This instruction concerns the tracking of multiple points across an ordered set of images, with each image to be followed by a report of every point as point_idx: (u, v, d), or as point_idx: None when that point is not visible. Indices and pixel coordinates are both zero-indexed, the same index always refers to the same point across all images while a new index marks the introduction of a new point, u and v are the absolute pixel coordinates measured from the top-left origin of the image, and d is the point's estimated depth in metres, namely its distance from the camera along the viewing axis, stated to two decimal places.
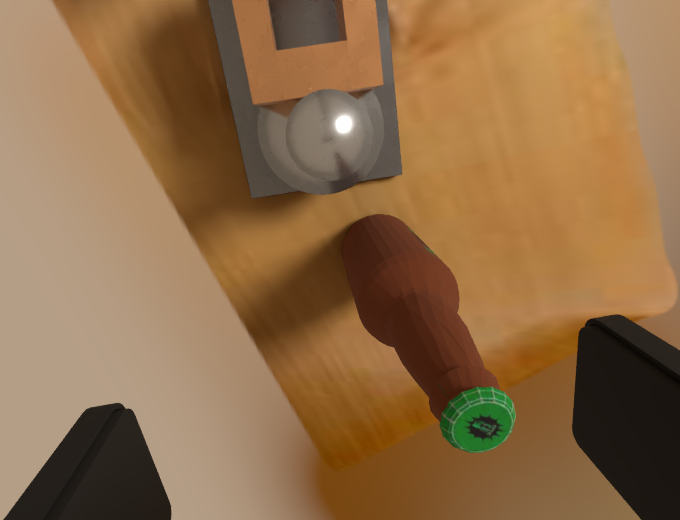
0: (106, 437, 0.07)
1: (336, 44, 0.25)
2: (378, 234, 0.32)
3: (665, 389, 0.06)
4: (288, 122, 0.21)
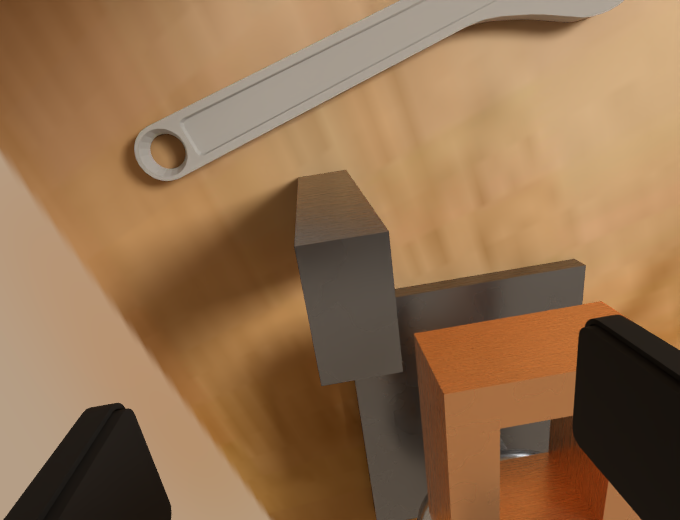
0: (106, 437, 0.07)
1: None
2: None
3: (665, 389, 0.06)
4: None
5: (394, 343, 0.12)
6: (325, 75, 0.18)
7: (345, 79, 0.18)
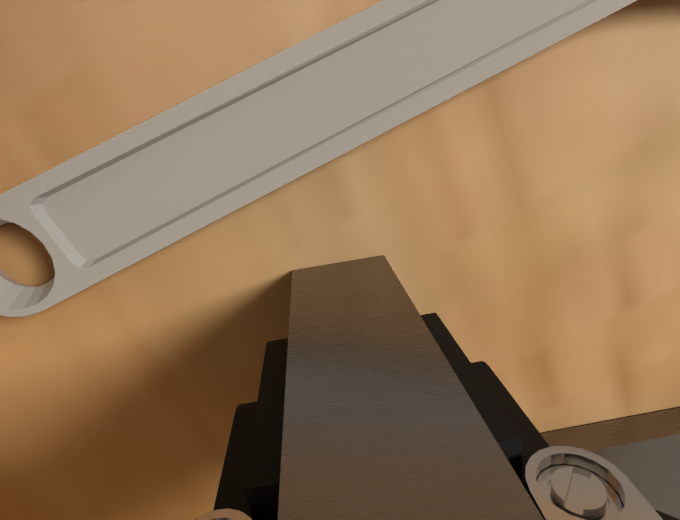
0: None
1: None
2: None
3: None
4: None
5: None
6: (337, 104, 0.09)
7: (380, 111, 0.09)
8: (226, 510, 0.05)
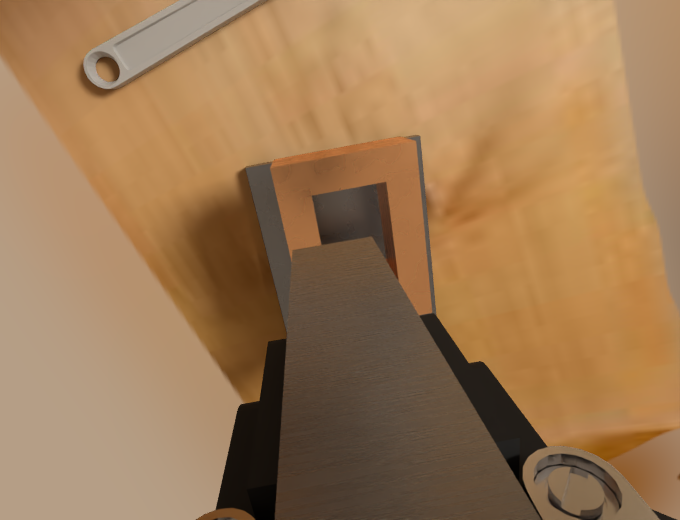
0: None
1: None
2: None
3: None
4: None
5: None
6: (207, 13, 0.28)
7: (221, 15, 0.28)
8: (229, 510, 0.05)
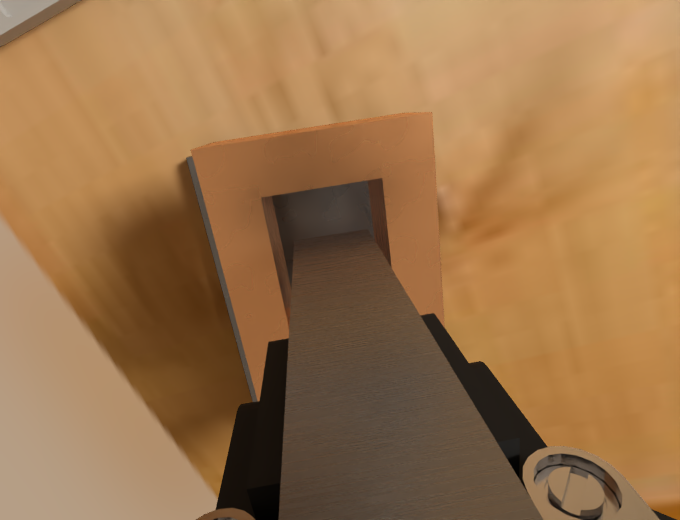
0: None
1: None
2: None
3: None
4: None
5: None
6: None
7: None
8: (229, 509, 0.05)
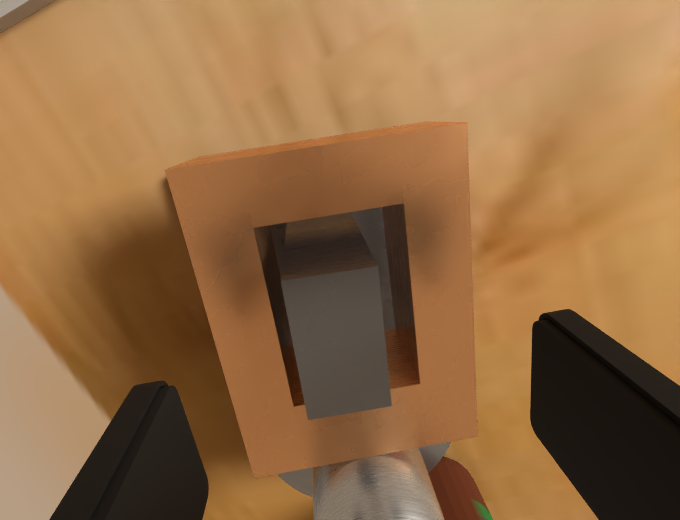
0: (156, 410, 0.07)
1: (401, 390, 0.14)
2: None
3: (599, 377, 0.07)
4: None
5: (383, 377, 0.11)
6: None
7: None
8: None
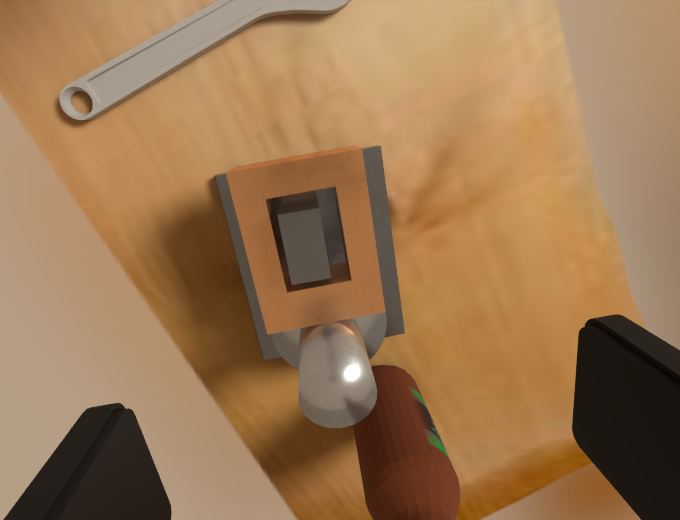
0: (106, 437, 0.07)
1: (342, 284, 0.27)
2: (383, 410, 0.35)
3: (665, 389, 0.06)
4: (301, 388, 0.24)
5: (325, 263, 0.25)
6: (172, 51, 0.30)
7: (185, 53, 0.30)
8: None
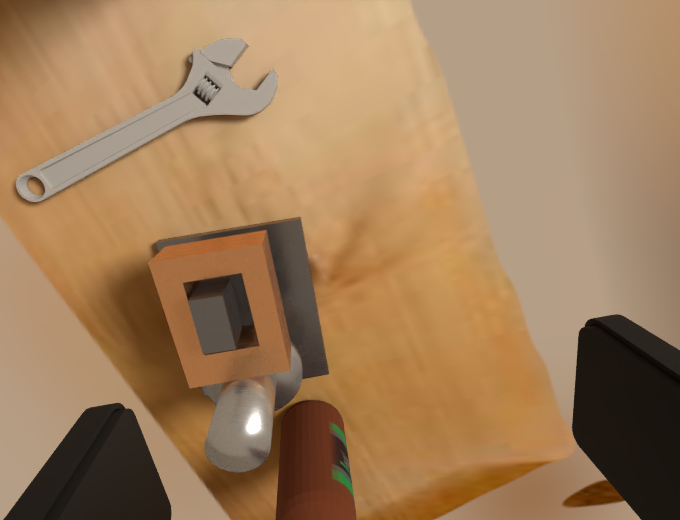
0: (106, 437, 0.07)
1: (251, 349, 0.33)
2: (301, 445, 0.40)
3: (665, 389, 0.06)
4: (206, 441, 0.29)
5: (230, 337, 0.30)
6: (114, 146, 0.35)
7: (124, 148, 0.35)
8: None
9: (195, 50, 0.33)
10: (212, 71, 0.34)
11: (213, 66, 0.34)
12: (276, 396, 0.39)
